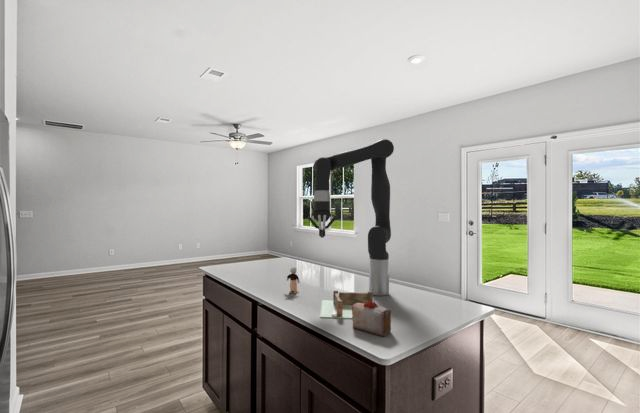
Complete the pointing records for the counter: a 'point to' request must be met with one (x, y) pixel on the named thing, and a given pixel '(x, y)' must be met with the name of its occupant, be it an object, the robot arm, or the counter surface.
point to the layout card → (334, 310)
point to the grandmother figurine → (293, 280)
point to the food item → (371, 318)
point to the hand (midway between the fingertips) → (322, 237)
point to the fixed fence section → (355, 297)
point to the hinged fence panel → (338, 303)
